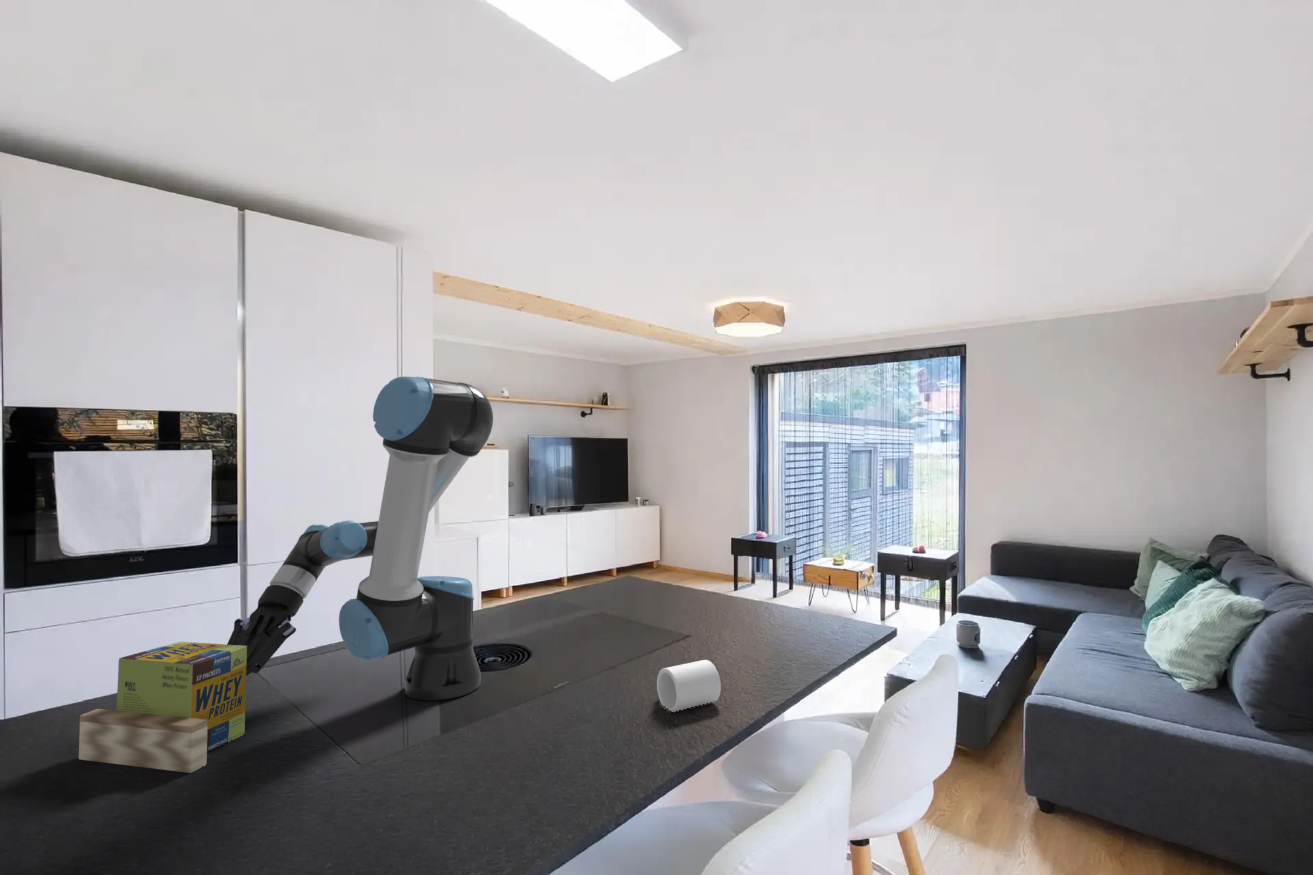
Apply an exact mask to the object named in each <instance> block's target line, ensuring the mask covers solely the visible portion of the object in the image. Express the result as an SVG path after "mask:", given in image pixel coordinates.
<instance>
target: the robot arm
mask: <svg viewBox="0 0 1313 875" xmlns="http://www.w3.org/2000/svg"><path fill="white" fill-rule="evenodd" d="M372 410H373V413H372V418H373V420H372V421H373V422H374V429H375V431H376V433H377V434H378V436H380V437H381V438H383V440H382V447H383V448H384V449H385V450H386V452H387V453H388V454H389V457H388V458H389V459H388V462H387V463H388V464H387V470H386V473H385V474H386V476H385V481H384V487H383V491H382V497H381V498H382V499H381V505H380V511H379V516H378V520H375V521H367V522H365V521H364V522H356V521H354V520H343V521H340V522H335V523H333V524H331V525H329V526H328V525H324V524H311V525H309V526H308V527H307V528H306V529H305V531H304V532H302V534H301V535H299V537H298V539H297V542H296V543H295V544H294V546H293V547H292V549H291V551H290V552H289V554H288V555H287V557H286V558H285V560H284V561H283V562H282V565H281V566H280V567H279V569H278V570H277V572H276V573H275V574H274V576H273V577H272V579H271V580H270V582H269V585H268V586H267V587H266V588H265V590H264V591H263V593H262V594H261V596H260V597H259V598H258V601H257V608H256V609H255V610H254V611H252V612H251V614H249V617H247V618H244V619H241V618H237V619H235V620H234V623H233V631H232V633H231V635H230V637H229V639H228V642H227V643H226V645H242V646H247V663H246V677H247V676H249V675H250V674H253V673H254V674H258V673H260V671H261V670H262V669H263V668H264V667H265V666H266V664H267V663H268V662H269V661H270V659H271V658H272V657H273V656H274V655H275V653H277V651H278V650H279V648H281V646H282V645H283V643H284V642H285V641H286V640H287V639H288V638H289V637H291V636H292V635H294V634H295V632H296V631H297V628H296V627H294V626H293V624H291V621H292V618H294V617H295V616H296V615H297V613H298V612H299V610H300V608H301V607H302V605H303V603H304V599H306V598H307V597H308V595H309V593H310V591H312V589H313V587H314V586H315V583H316V582H317V580H318V578H319V577H320V575H321V574H322V572H323V571H324V569H325V568H326V567H327V566H330V565H333V564H336V563H337V562H342V561H347V560H352V559H360V558H366V557H367V558H368V557H371V563H370V568H369V575H368V576H366V577H365V578H364V579H362V580H361V581H360V582H359V583H358V586H357V593H356V597H355V598H351V599H349V600H347V601H346V602H345V603H344V604H343V605H342V606H341V607H340V610H339V615H338V626H339V628H338V629H339V633H340V635H341V639H342V640H343V643H344V646H345V647H346V650H347V651H348V652H349V653H350V654H351V655H352V656H353V657H354V658H356V659H357V660H360V661H366V662H367V661H372V660H376V659H383V658H386V657H387V656H390V655H393V654H397V653H400V652H404V651H405V650H410V649H413V648H414V654H413V656H412V660H411V662H410V663H411V664H410V666H409V668H408V672H407V675H406V678H405V681H404V694H405V695H406V696H407V697H409V698H411V699H414V700H419V701H443V700H449V699H454V698H459V697H462V696H465V695H468V694H470V693H472V692H474V691H476V690H477V689H479V687H480V686H481V684H482V682H481V681H482V679H481V678H482V677H481V676H482V673H481V669H480V666H479V663H478V661H477V657H476V654H475V651H474V647H473V646H474V645H473V636H474V634H473V622H474V620H473V619H474V600H475V598H474V593H473V590H474V589H473V584H472V582H471V581H470V580H469V579H467V578H463V577H459V576H458V577H456V576H445V575H443V576H441V575H430V576H429V575H428V576H427V575H426V576H419V577H418V575H419V570H420V565H421V561H422V560H421V559H422V555H423V554H422V553H423V548H424V542H425V536H426V531H427V524H428V522H429V521H428V519H429V515H430V514H429V513H430V512H431V511H432V509H433V508H434V507H435V505H436V504H437V502H438V501H439V500H440V498H441V496H442V495H443V494H444V493H445V491H446V490H447V489H448V487H449V486H450V485H451V483H452V482H453V480H454V479H455V477H456V476H457V475H458V473H459V472H460V471H461V469H462V468H463V466H465V464H466V462H467V461H468V459H470V458H474V457H475V456H478V454H479V453H480V452H481V450H482V449H483V448H484V446H485V445H486V443H487V442H488V440H489V437H490V435H491V433H492V429H493V425H494V412H493V408H492V404H491V402H490V401H489V399H488V398H487V395H485V393H484V392H482V391H481V390H480V389H479V388H477V387H476V386H474V385H473V384H468V383H465V382H456V381H450V380H449V381H447V380H441V379H440V380H439V379H435V378H430V377H429V378H428V377H427V378H426V377H423V376H398V377H395V378H393V379H392V380H390V381H389V382H388V383H386V384H385V385H384V386H383V387H382V389H381V390H380V392H379V393H378V395H377V397H376V400H375V402H374V406H373V409H372Z"/></svg>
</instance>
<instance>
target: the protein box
mask: <svg viewBox="0 0 1313 875" xmlns="http://www.w3.org/2000/svg"><path fill="white" fill-rule="evenodd" d="M246 663H247V646H242V645H227V644H223V643H210V642H209V643H208V642H207V643H206V642H194V641H192V642H190V641H177V642H174V643H170V644H166V645H163V646H159V647H156V648H152V649H148V650H144V651H140V652H137V653H134V654H130V655H126V656H125V655H124V656H122V657H120V658H118V665H117V666H118V670H117V688H116V693H117V694H116V709H115V710H116V711H126V712H136V713H146V714H156V715H166V716H176V717H186V718H196V719H206V720H208V724H207V753H209V751H210V752H211V751H213V749H214V750H215V748H216V749H218V748H219V747H221V745H222V746H224V745H226V744H228V743H231V742H232V741H234V740H236V739H238V738H240V737H242V736H244V735H245V733H246V732H245V728H246V724H245V723H246V722H245V721H246V690H247V689H246V688H247V686H246V685H247V676H246ZM243 734H244V735H243ZM231 740H232V741H231ZM227 742H228V743H227ZM225 743H226V744H225ZM217 747H218V748H217Z"/></svg>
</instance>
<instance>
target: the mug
mask: <svg viewBox="0 0 1313 875" xmlns="http://www.w3.org/2000/svg"><path fill="white" fill-rule="evenodd" d="M719 674H720V673H719V672H718V670H717V668H716V667H715V664H714V663H713V662H711V661H710V660H708V659H701V660H697V661H692V662H688V663H681V664H678V665H673V666H669V667H668V666H667V667H664V668H661V669H659V672H658V673H657V678H656V690H657V691H656V692H657V695H658V699H659V702H660V704H661V705H663V706H666V708H669V710H671V711H672V712H673V713H676V711H677V712H679V710H681V711H685V710H687V708H689V709H692V708H691V707H693V708H696V707H695V706H697V707H700V706H704V705H708V704H711V703H710V702H712V703H715V702H716V701H718V700H719V698H720V695H721V689H722V685H721V678H720V675H719ZM714 701H715V702H714ZM707 703H708V704H707ZM703 704H704V705H703ZM699 705H700V706H699ZM663 706H662V707H663ZM684 709H685V710H684Z"/></svg>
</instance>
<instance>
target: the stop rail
mask: <svg viewBox="0 0 1313 875" xmlns="http://www.w3.org/2000/svg"><path fill="white" fill-rule="evenodd" d="M116 710H117V709H115V710H113V709H105V708H104V709H103V708H96V709H93V710H90V711H88V712H86V713H82V714H80V716H79V739H78V740H79V741H78V760H83V761H90V762H97V763H98V762H99V763H106V764H107V763H108V764H113V765H114V764H116V765H121V766H122V765H123V766H124V765H125V766H130V767H131V766H132V767H137V768H138V767H139V768H147V769H154V770H155V769H156V770H162V771H164V770H165V771H171V772H179V773H180V772H181V773H188V774H191V773H194V772H195V771H197V770H199V769H201V768H203V767H205V766H207V765H208V764H207V761H208V760H207V758H208V752H207V724H208V720H206V719H196V718H186V717H176V716H166V715H156V714H146V713H136V712H126V711H116ZM206 764H207V765H206ZM202 766H203V767H202Z"/></svg>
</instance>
